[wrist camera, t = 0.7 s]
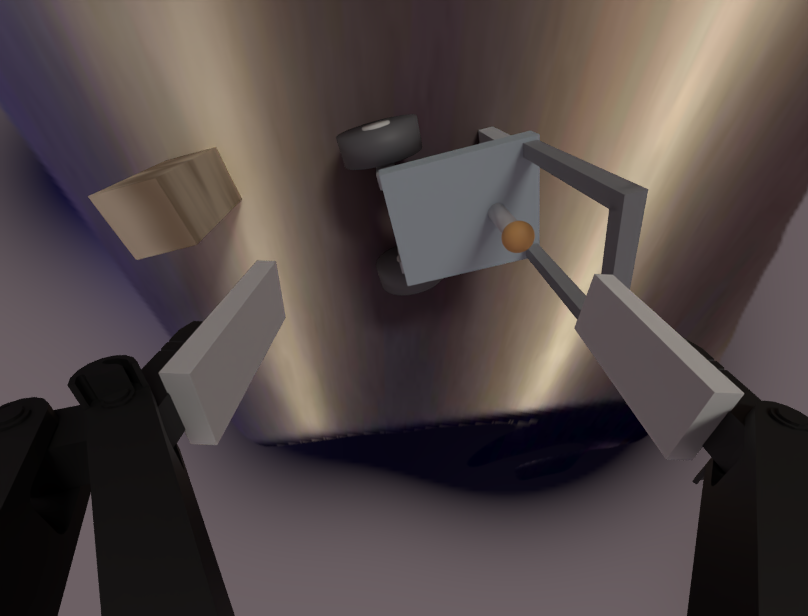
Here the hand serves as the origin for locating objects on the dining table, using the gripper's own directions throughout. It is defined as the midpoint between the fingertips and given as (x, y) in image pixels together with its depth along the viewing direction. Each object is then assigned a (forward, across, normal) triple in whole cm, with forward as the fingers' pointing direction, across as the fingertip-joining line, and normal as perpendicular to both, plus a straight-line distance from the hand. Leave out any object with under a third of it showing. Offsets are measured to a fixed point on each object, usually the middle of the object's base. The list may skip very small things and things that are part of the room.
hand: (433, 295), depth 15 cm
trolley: (+24, +1, -2) cm, 24 cm away
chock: (+22, -21, -1) cm, 31 cm away
